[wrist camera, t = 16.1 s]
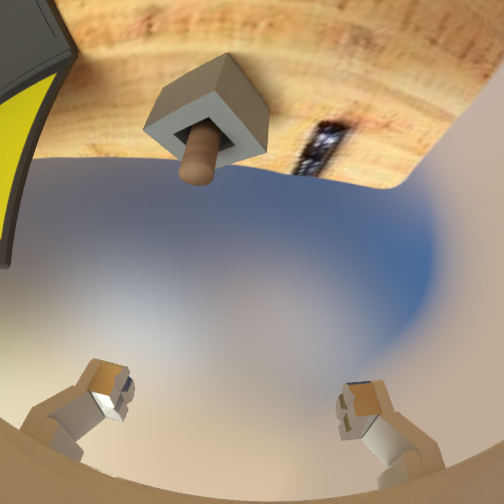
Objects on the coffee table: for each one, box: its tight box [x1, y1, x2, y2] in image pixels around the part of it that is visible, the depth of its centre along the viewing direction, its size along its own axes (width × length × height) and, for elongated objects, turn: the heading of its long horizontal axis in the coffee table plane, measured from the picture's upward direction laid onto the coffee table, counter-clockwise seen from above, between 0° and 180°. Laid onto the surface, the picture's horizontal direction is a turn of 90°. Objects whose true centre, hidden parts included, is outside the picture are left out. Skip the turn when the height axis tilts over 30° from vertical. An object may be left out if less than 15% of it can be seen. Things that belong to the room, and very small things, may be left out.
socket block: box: [143, 53, 270, 169], centre depth 30 cm, size 10×10×8 cm
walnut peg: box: [179, 117, 222, 186], centre depth 28 cm, size 4×4×10 cm
